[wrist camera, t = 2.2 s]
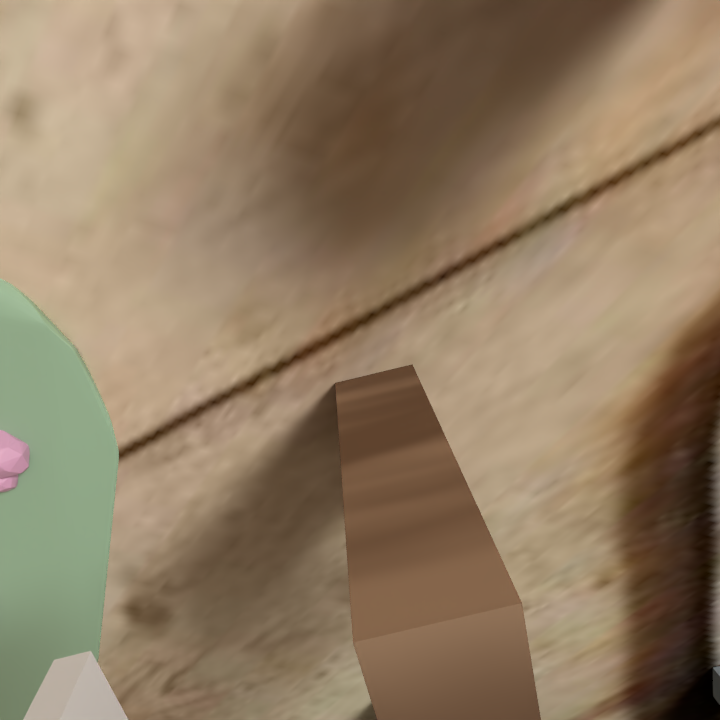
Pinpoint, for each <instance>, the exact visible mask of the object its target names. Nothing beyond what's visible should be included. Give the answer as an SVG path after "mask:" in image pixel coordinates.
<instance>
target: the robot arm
mask: <svg viewBox="0 0 720 720" xmlns="http://www.w3.org/2000/svg"><path fill="white" fill-rule="evenodd" d="M23 720H128V718H127V716H126V715H125V713H124V711H123V709H122V707H121V705H120V703H119V702H118V700H117V698H116V696H115V694H114V692H113V691H112V689H111V687H110V685H109V683H108V681H107V680H106V678H105V676H104V674H103V672H102V670H101V668H100V667H99V665H98V663H97V661H96V659H95V657H94V656H93V654H92V652H91V651H88V652H84V653H80V654H76V655H72V656H68V657H64V658H59V659H55V660H54V661H53V663H52V665H51V667H50V668H49V670H48V672H47V674H46V676H45V678H44V680H43V682H42V684H41V686H40V688H39V690H38V692H37V694H36V696H35V697H34V699H33V701H32V703H31V705H30V707H29V709H28V711H27V713H26V715H25V717H24V719H23Z"/></svg>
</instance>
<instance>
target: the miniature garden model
mask: <svg viewBox="0 0 720 720" xmlns="http://www.w3.org/2000/svg"><path fill="white" fill-rule="evenodd" d="M118 460H119V451H118V446H117V442H116V438H115V434H114V430H113V426H112V423H111V420H110V417H109V414H108V412H107V409H106V407H105V405H104V402H103V400H102V398H101V396H100V394H99V391H98V389H97V387H96V385H95V383H94V381H93V379H92V377H91V375H90V373H89V371H88V369H87V367H86V365H85V363H84V361H83V360H82V358H81V356H80V354H79V353H78V351H77V349H76V348H75V347H74V345H73V344H72V343H71V342H70V341H69V340H68V339H67V338H66V337H65V336H64V335H63V334H62V333H61V332H60V330H59V329H58V328H57V327H56V326H55V325H54V324H53V323H52V322H51V321H50V320H49V319H48V318H47V317H46V316H45V315H44V313H43V312H42V311H41V310H40V309H39V308H38V307H37V306H36V305H35V304H34V303H33V302H32V301H31V300H30V299H29V298H28V297H27V296H25V295H24V294H23V293H22V292H21V291H19V290H18V289H17V288H16V287H14V286H13V285H11V284H10V283H8V282H6V281H4V280H2V279H0V720H23V719H24V717H25V715H26V713H27V711H28V709H29V707H30V705H31V703H32V701H33V699H34V697H35V696H36V694H37V692H38V690H39V688H40V686H41V684H42V682H43V680H44V678H45V676H46V674H47V672H48V670H49V668H50V667H51V665H52V663H53V661H54V660H55V659H59V658H64V657H68V656H72V655H76V654H80V653H84V652H88V651H91V652H92V654H93V656H94V657H95V659H96V661H97V663H98V656H99V647H100V637H101V627H102V617H103V608H104V598H105V588H106V578H107V568H108V558H109V549H110V539H111V529H112V519H113V509H114V499H115V490H116V480H117V470H118Z"/></svg>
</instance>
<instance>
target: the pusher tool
mask: <svg viewBox="0 0 720 720" xmlns="http://www.w3.org/2000/svg"><path fill="white" fill-rule="evenodd" d="M335 388H336V402H337V417H338V431H339V446H340V460H341V474H342V489H343V503H344V518H345V532H346V547H347V561H348V575H349V590H350V604H351V619H352V633H353V644H354V647H355V650H356V653H357V657H358V660H359V663H360V666H361V669H362V673H363V676H364V679H365V682H366V686H367V689H368V692H369V695H370V698H371V702H372V705H373V708H374V711H375V715H376V718H377V720H541V718H540V712H539V706H538V700H537V693H536V687H535V681H534V675H533V669H532V663H531V656H530V650H529V644H528V638H527V632H526V626H525V619H524V613H523V607H522V602H521V600H520V598H519V596H518V594H517V591H516V589H515V587H514V585H513V583H512V581H511V578H510V576H509V574H508V572H507V570H506V568H505V565H504V563H503V561H502V559H501V557H500V554H499V552H498V550H497V548H496V546H495V544H494V541H493V539H492V537H491V535H490V533H489V531H488V528H487V526H486V524H485V522H484V520H483V517H482V515H481V513H480V511H479V509H478V507H477V504H476V502H475V500H474V498H473V496H472V494H471V491H470V489H469V487H468V485H467V483H466V480H465V478H464V476H463V474H462V472H461V470H460V467H459V465H458V463H457V461H456V459H455V457H454V454H453V452H452V450H451V448H450V446H449V443H448V441H447V439H446V437H445V435H444V433H443V430H442V428H441V426H440V424H439V422H438V420H437V417H436V415H435V413H434V411H433V409H432V406H431V404H430V402H429V400H428V398H427V396H426V393H425V391H424V389H423V387H422V385H421V383H420V380H419V378H418V376H417V374H416V372H415V370H414V367H413V365H409V366H404V367H400V368H396V369H392V370H388V371H384V372H379V373H375V374H371V375H367V376H363V377H359V378H354V379H350V380H346V381H342V382H338V383H335Z"/></svg>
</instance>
